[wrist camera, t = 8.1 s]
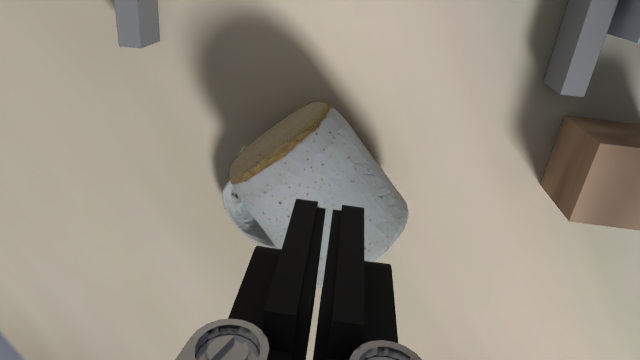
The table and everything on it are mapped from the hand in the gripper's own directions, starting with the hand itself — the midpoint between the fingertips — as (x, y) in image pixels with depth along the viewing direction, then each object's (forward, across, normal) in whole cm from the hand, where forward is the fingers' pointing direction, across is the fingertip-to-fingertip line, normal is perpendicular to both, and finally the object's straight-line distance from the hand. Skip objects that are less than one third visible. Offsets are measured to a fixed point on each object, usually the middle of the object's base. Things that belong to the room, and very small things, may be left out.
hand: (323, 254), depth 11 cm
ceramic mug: (+17, +2, +6) cm, 19 cm away
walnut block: (+17, -15, +2) cm, 23 cm away
